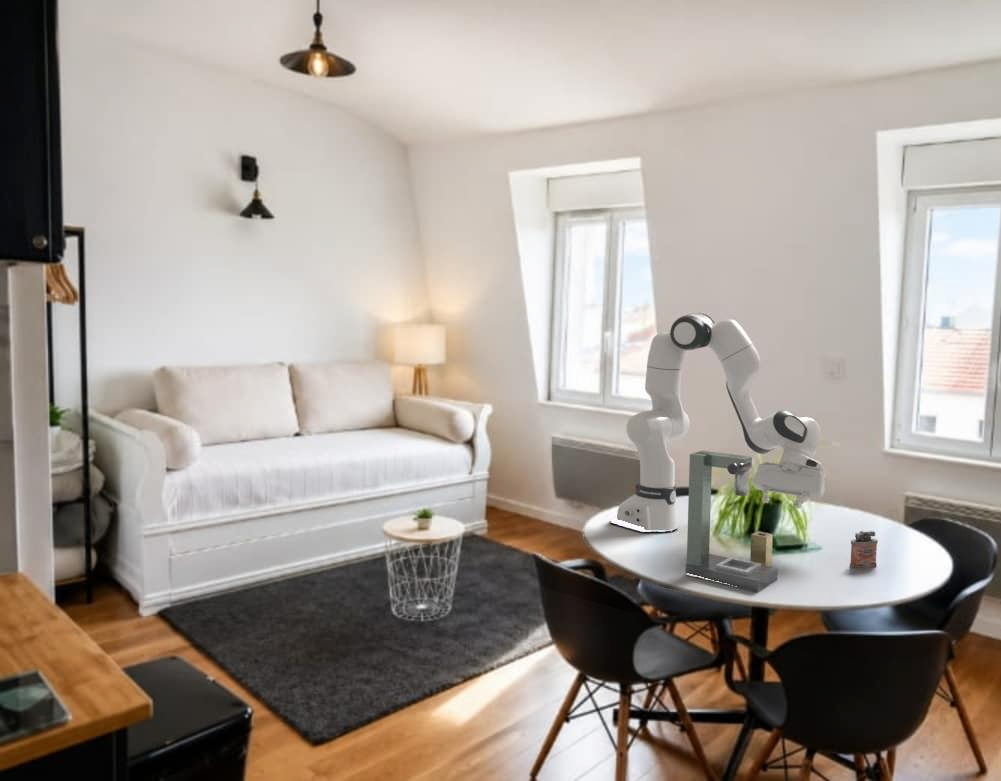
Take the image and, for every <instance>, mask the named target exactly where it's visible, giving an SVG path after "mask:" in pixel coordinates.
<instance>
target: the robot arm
mask: <svg viewBox="0 0 1001 781" xmlns="http://www.w3.org/2000/svg"><path fill="white" fill-rule="evenodd" d="M670 327H671V328H670V331H669V332H668V331H667V332H660V333H657V334H656V335H655V336H653V338H652V340H651V343H650V347H649V350H648V357H647V362H646V373H645V384H644V389H645V392H646V393H647V395H649V397H650V399H651V405H652V409H651V410H643V411H639V412H638V413H635V414H633V415H632V416H630V418H628V421H627V423H626V434H627V436H628V438H629V439H630V441H631V442H632V443H634V446H635V447H636V450H637V454H638V457H639V465H640V466H639V467H640V470H639V472H640V473H639V474H640V475H639V476H640V477H639V481H640V482H639V483H638V484H637V483H636V485H633V486H632V487H633V488H632V490H633V491H634V490H635V492H634V494H632V496H630V497H629V498H627V499H626V500H624V501H623V502H622V503H620V504H619V506H618V508H617V513H616V516H617V519H618V520H622V521H625V522H628V523H631V524H634V525H637V526H641V527H644V529H645V530H670V529H675V528H677V527H679V524H678V521H677V520H678V519H677V515H676V504H675V503H676V497H677V493H676V490H677V486H676V484H675V483H676V482H675V481H676V480H675V479H676V478H675V476H676V475H675V474H676V463H675V460H674V459H673V458H672V457H671V456H670V454H669V452H668V448H667V443H668V442H672V441H677V440H679V439H681V438H682V437H684V436H685V435H687V433H688V432H689V430H690V428H691V427H690V426H691V423H690V418H689V416H688V415H689V414H687V413H686V411H685V409H684V408H683V405H682V398H681V397H682V396H681V384H682V383H681V380H682V369H683V359H684V357H685V356H684V355H685V353H686V352H687V351H692V350H693V351H694V350H697V349H698V350H699V349H701V348H706V347H708V348H710V349H711V350H712V351H713V353H715V355H716V357H717V359H718V360H719V362H720V364H721V366H722V369H723V370H724V374H725V378H726V382H725V385H726V391H727V394H728V396H729V399H730V400H731V401H730V402H731V403H732V406H733V409H734V410H735V413H736V415H737V417H738V418H737V419H738V420H739V423H740V425H741V429H742V432H743V437H744V441H745V443H746V445H747V446H748V447H749V448H750V449H751V450H752V451H753V452H755V453H757V454H763V455H764V454H768V453H770V452H771V451H773V450H775V449H776V448H779V447H781V448H782V449H783V451H782V454H781V457H780V460H779V462H778V463H776V462H768V461H767V462H764V463H761V464H759V465H758V468H757V469H756V470H757V471H756V472H755V474H754V476H753V478H752V481H751V483H752V484H753V486H754V488H755V490H758V491H762V498H761V501H762V503H767V504H769V501H770V499H771V498H770V496H769V495H768V494H769V492H772V493H779V494H783V495H784V494H785V495H791V496H797V497H800V498H799V499H795V500H794V504H793V506H794V508H797V509H801V508H802V505H803V504H804V503H805V502H807V501H808V499H809V498H810V499H816V500H817V499H819V500H820V499H821V498H822V497H823V496H824V493H825V489H826V482H825V479H826V470H825V468H824V466H823V465H822V463H821V462H820V461H818V460H815V459H814V456H815V455H816V453H817V451H818V448H819V445H820V442H821V437H822V436H821V435H822V433H821V432H822V431H821V427H820V424H819V423H818V422H817V421H815V419H813V418H811V417H804V416H802V417H799V416H796V415H794V413H792V412H789V411H788V410H779V411H776V412H774V413H771V414H769V415H768V416H766V417H764V418H761V417H760V416H759V413H758V410H757V408H756V406H755V403H754V401H753V399H752V396H751V388H752V387H751V386H752V384H753V382H754V381H755V379H756V377H757V376H758V374H759V372H760V371H761V370H760V369H761V366H762V361H761V357H760V355H759V352H758V350H757V348H756V347H755V345H754V343H753V342H752V340H751V339H750V337H749V336H748V334H747V333H746V331H745V330H744V329H743V327H742V326H741V325H740V324H739V323H738V322H737V321H736V320H735V319H733V318H731V319H730V318H729V319H728V318H727V319H722V320H719V321H717V322H715V321H714V320H713V319H712V318H711V317H710V316H708V315H707V314H704V313H700V312H699V313H695V312H694V313H688V314H686V315H682V316H680V317H678V318H677V319H676V320H675V321H674V322H673V323H672V324H671V326H670Z"/></svg>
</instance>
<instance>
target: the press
mask: <svg viewBox="0 0 1001 781" xmlns="http://www.w3.org/2000/svg"><path fill="white" fill-rule="evenodd" d="M688 468H689V471H688V472H689V475H688V500H687V502H688V503H687V504H688V505H687V506H688V508H687V511H688V513H687V541H686V542H687V543H686V544H687V545H686V564H685V574H686V573H689V574H693V575H697V576H701V577H704V578H708V579H711V580H714V581H719V582H722V583H727V584H730V585H733V586H737V587H740V588H739V589H741V588H744V589H743V590H745V589H748V590H747V591H749V590H752V591H751V592H753V591H755V592H754V593H758V591H759V592H760V591H762V590H763V589H765V588H766V587H768V586H770V585H772V584H773V583H774V582H776V581H777V580H778V569H779V568H777V567H773V566H770V567H768V566H764V565H761V564H760V563H755V562H750V560H745V559H740V558H737V557H736V558H735V557H732V556H731V557H725V556H722V555H716V554H712V553H710V540H711V539H710V538H711V536H710V535H711V534H710V533H711V506H712V502H711V501H712V478H713V477H712V471H713V470H712V469H713V468H720V469H727V472H728V474H730V475H733V476H734V479H733V481H734V484H733V485H734V487H733V494H734V495H735V496H741V497H742V496H743V497H745V496H749V486H750V485H749V480H750V469H752V468H753V456H749V455H740V454H735V453H734V454H733V453H726V452H718V451H717V452H716V451H709V450H700V451H697V452H692V453H689V466H688ZM772 582H773V583H772ZM769 584H770V585H769ZM737 587H736V588H737Z"/></svg>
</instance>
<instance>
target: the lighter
mask: <svg viewBox="0 0 1001 781" xmlns="http://www.w3.org/2000/svg"><path fill="white" fill-rule="evenodd" d="M854 535H855V536H854V537H855V539H852V540H850V562H849V568H850V569H853V570H863V568H867V569H872V568H871V567H874V568H876V567H877V549H878V548H877V547H878V542H879V541H878V539H877V538H872V537H876V531H874V530H869V531H863V530H860V531H859V532H856V533H855V534H854Z"/></svg>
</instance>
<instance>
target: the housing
mask: <svg viewBox="0 0 1001 781" xmlns="http://www.w3.org/2000/svg"><path fill="white" fill-rule="evenodd" d="M773 540H774V538H773V533H768V532H763V531H758V530H757V531H756V532H753V533H751V534H750V556H749V557H750V558H749V561H750V562H755V563H760V564H761V565H764V566H768V567H772V564H773V563H772V562H773V560H772V559H773Z"/></svg>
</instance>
